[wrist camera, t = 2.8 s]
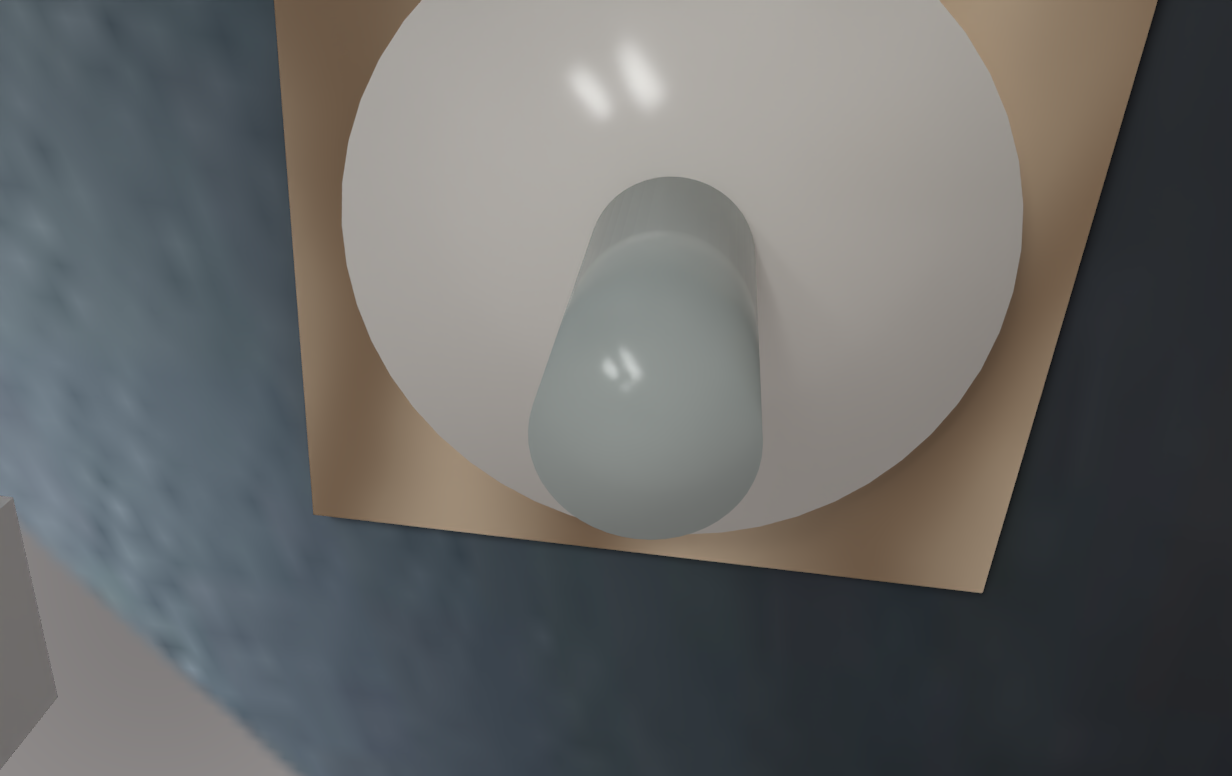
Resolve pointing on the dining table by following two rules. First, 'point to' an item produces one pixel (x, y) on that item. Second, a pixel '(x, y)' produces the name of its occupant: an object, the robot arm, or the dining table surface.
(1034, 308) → the mat
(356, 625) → the dining table surface
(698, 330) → the lid
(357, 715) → the dining table surface
